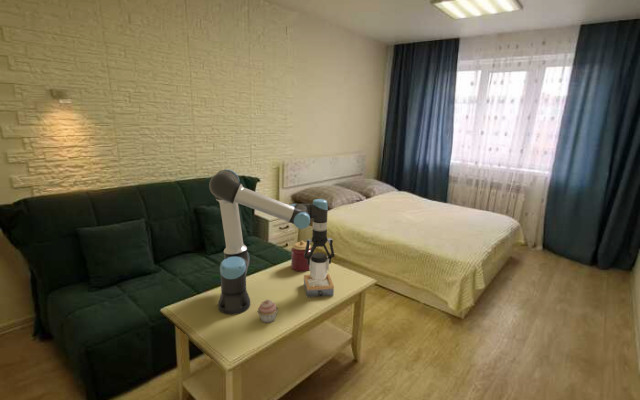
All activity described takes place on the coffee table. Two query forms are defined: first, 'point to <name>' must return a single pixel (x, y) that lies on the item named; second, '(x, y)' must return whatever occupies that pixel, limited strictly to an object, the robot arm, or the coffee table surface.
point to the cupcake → (267, 311)
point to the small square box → (318, 286)
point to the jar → (318, 266)
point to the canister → (299, 256)
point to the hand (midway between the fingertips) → (318, 269)
